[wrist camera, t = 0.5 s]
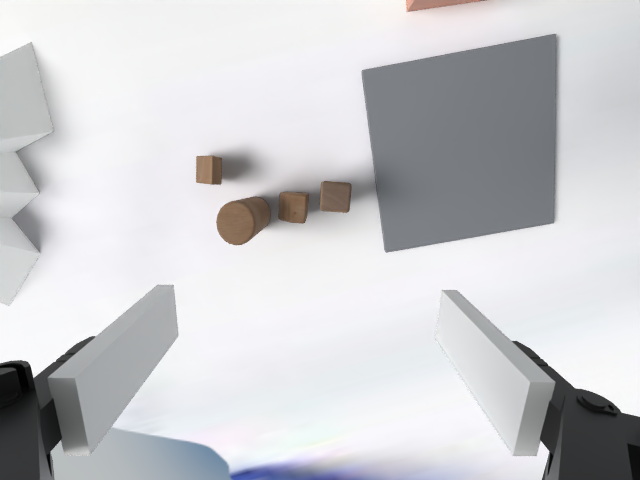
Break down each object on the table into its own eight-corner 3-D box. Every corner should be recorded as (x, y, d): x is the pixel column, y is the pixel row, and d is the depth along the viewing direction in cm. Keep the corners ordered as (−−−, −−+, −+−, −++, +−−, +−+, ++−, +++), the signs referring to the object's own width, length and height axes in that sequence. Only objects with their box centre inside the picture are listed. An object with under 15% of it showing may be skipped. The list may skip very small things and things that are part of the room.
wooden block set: (346, 168, 40) (356, 163, 30) (340, 236, 41) (348, 254, 31) (202, 157, 39) (162, 148, 29) (201, 226, 41) (163, 240, 31)
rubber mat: (361, 72, 37) (362, 70, 36) (551, 36, 37) (556, 33, 36) (384, 250, 43) (386, 252, 42) (549, 221, 42) (553, 223, 41)
